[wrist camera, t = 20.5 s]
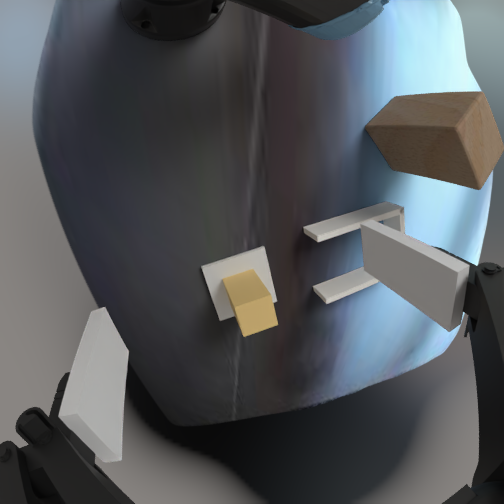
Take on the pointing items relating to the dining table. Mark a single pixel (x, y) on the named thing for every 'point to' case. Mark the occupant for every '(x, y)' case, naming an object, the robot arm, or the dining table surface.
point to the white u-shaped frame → (347, 223)
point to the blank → (250, 302)
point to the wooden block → (439, 136)
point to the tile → (231, 267)
